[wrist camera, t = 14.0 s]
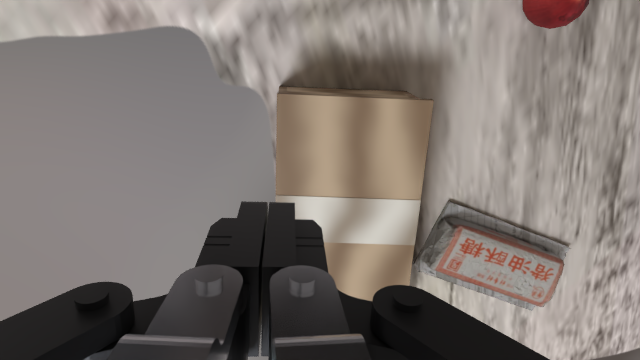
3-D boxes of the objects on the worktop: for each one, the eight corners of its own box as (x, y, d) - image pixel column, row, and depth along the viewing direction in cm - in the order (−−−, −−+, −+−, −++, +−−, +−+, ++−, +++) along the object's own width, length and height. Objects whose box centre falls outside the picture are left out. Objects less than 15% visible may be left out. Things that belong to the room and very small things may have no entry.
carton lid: (274, 316, 49) (274, 321, 48) (277, 92, 40) (277, 94, 40) (402, 319, 49) (404, 324, 48) (431, 99, 41) (433, 100, 40)
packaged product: (420, 285, 52) (460, 213, 49) (410, 264, 57) (445, 197, 54) (545, 327, 55) (589, 262, 52) (526, 304, 60) (566, 243, 57)
